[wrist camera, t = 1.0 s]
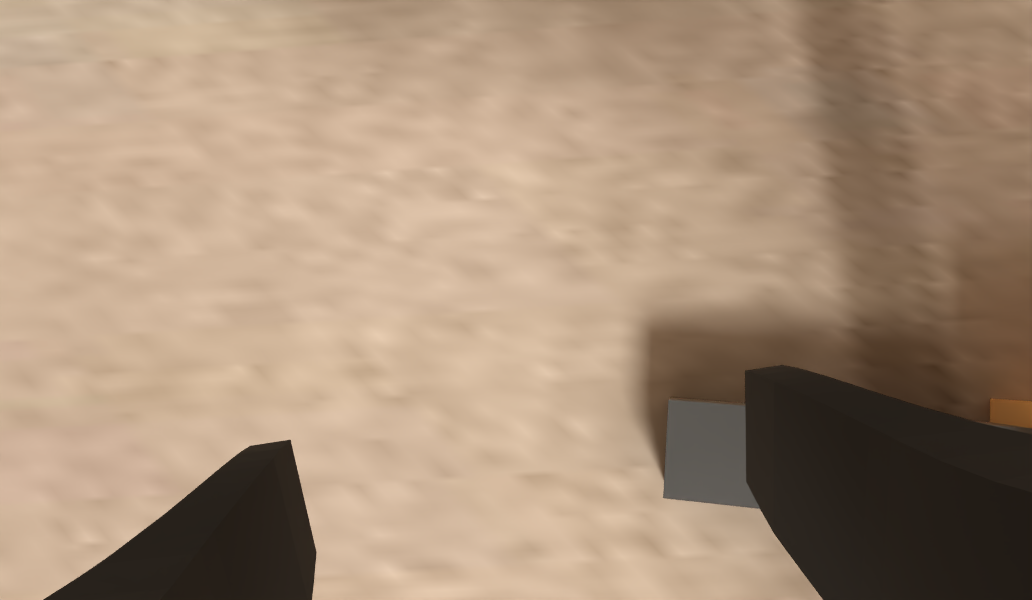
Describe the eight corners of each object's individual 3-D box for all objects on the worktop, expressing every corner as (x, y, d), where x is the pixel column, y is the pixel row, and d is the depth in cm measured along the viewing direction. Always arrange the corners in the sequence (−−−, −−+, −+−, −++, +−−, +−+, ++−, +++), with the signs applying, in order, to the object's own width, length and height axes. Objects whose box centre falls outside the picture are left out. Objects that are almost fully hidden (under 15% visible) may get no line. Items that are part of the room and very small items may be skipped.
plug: (664, 506, 25) (660, 536, 21) (671, 375, 26) (668, 375, 21) (1214, 567, 22) (1367, 621, 17) (1213, 414, 22) (1361, 424, 17)
